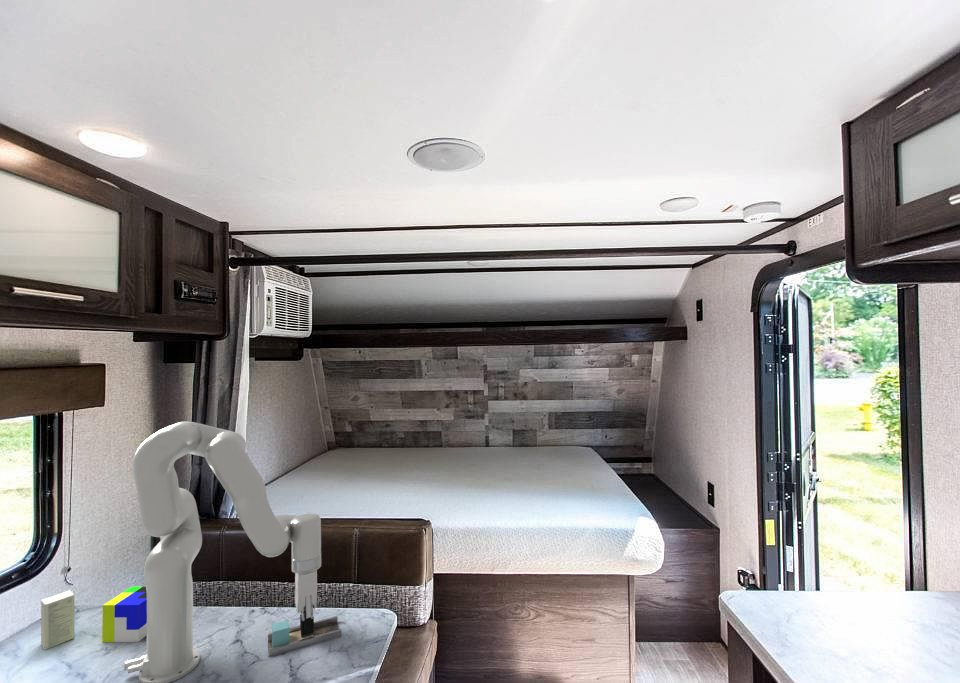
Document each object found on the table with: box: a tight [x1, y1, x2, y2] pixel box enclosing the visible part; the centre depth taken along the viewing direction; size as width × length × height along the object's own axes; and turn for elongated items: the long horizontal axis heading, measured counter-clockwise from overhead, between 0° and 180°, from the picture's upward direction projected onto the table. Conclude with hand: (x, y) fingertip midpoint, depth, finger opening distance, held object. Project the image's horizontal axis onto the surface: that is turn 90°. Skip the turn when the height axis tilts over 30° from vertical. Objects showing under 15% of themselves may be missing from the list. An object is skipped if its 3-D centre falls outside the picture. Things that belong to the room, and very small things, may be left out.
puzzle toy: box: [101, 586, 147, 643], centre depth 128 cm, size 10×10×10 cm
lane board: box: [267, 615, 343, 658], centre depth 122 cm, size 18×8×2 cm, turn 116°
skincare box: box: [40, 589, 75, 650], centre depth 124 cm, size 6×4×12 cm
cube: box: [271, 619, 290, 647], centre depth 119 cm, size 4×4×4 cm
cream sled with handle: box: [271, 615, 314, 647], centre depth 121 cm, size 10×6×6 cm, turn 116°
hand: (306, 630), depth 122 cm, fingers closed on cream sled with handle, 2 cm apart
